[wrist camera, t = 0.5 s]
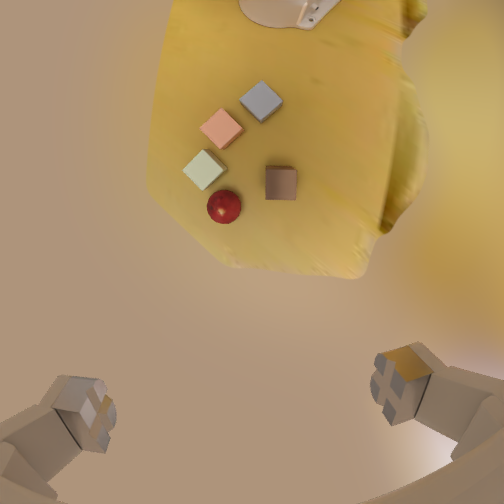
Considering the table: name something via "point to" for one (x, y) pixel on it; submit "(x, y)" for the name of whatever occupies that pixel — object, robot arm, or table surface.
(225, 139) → the cube terracotta
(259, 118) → the cube slate
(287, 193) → the block walnut
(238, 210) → the pomegranate
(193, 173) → the cube sage
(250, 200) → the table surface
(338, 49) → the table surface
